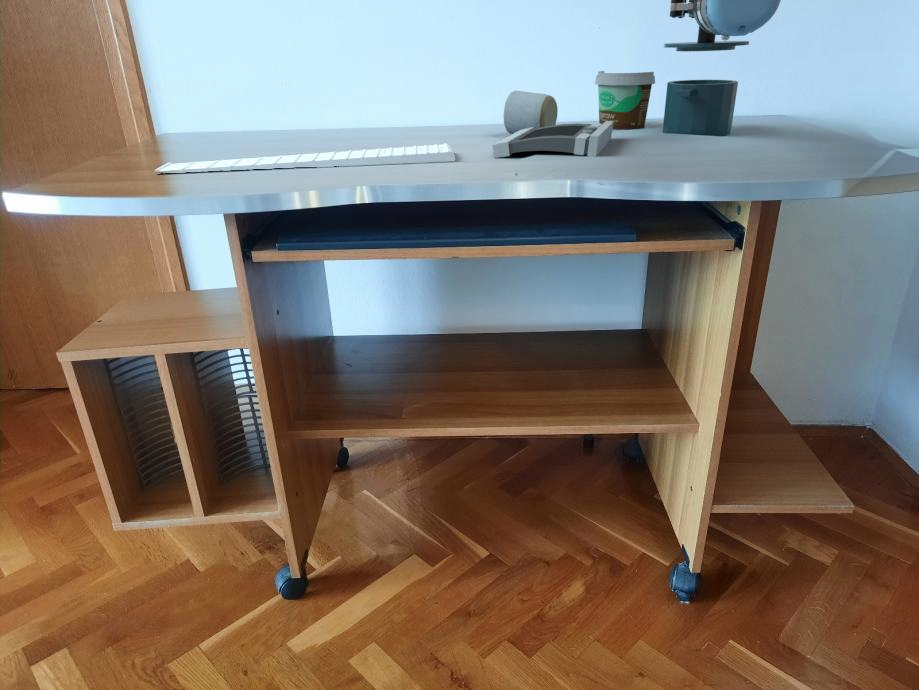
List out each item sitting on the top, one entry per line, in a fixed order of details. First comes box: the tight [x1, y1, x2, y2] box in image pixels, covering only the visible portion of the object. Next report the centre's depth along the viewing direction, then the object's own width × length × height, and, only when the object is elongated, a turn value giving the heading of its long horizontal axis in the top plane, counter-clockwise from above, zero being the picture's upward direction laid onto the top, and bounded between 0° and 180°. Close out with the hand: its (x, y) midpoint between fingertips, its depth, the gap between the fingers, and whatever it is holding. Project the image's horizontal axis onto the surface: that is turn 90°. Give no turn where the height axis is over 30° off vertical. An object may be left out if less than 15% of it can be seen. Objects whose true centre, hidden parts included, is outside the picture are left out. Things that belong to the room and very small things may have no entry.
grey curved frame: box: [491, 121, 613, 159], centre depth 103 cm, size 17×5×16 cm
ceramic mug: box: [503, 90, 558, 135], centre depth 119 cm, size 11×8×8 cm
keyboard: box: [154, 142, 456, 173], centre depth 99 cm, size 45×8×2 cm, turn 95°
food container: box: [594, 70, 656, 130], centre depth 123 cm, size 12×6×10 cm, turn 42°
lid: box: [663, 25, 750, 52], centre depth 99 cm, size 13×13×9 cm
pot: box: [662, 79, 739, 137], centre depth 114 cm, size 12×17×8 cm
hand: (706, 8), depth 103 cm, fingers closed on lid, 3 cm apart
